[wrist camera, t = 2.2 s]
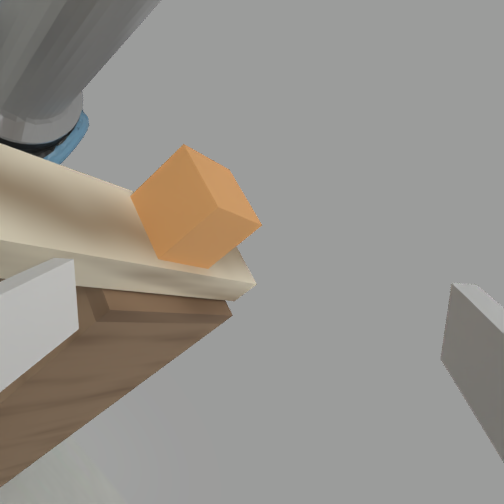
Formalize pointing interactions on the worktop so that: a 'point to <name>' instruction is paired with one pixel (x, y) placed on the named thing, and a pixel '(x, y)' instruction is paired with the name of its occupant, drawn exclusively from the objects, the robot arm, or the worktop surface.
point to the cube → (193, 210)
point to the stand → (97, 366)
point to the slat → (95, 234)
